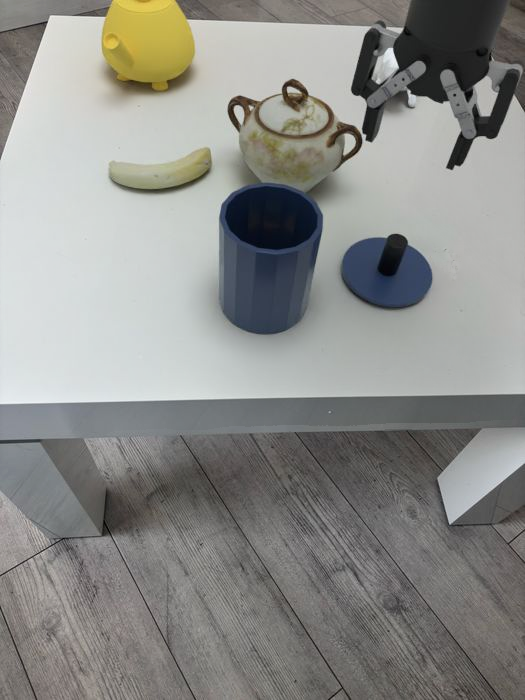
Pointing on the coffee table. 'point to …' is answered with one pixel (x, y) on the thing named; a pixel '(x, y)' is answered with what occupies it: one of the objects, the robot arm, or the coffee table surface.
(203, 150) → the fruit
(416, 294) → the lid
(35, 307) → the coffee table surface
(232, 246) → the pot
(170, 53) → the teapot
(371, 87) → the robot arm
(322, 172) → the sugar bowl
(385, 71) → the white animal figurine
